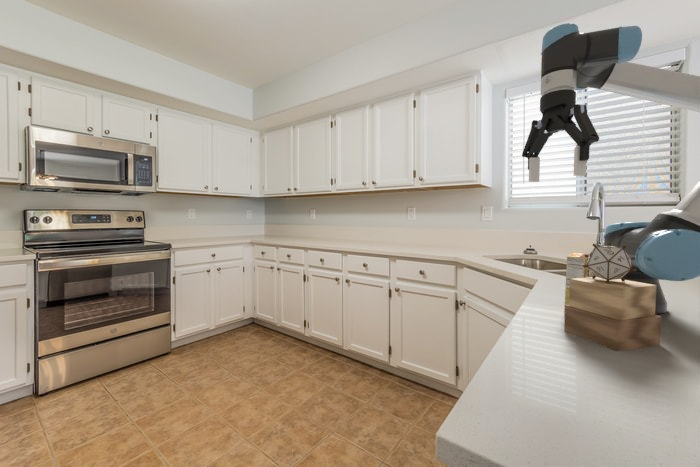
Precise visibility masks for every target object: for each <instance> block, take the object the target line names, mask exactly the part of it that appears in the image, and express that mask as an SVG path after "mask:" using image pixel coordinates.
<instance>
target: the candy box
mask: <svg viewBox="0 0 700 467" xmlns="http://www.w3.org/2000/svg"><path fill="white" fill-rule="evenodd" d="M589 254H590V253H579V252H572V253H569V255H567V256H566V268H565V270H566V271H565V289H564V291H565V292H564V306H565V305H569V296H570V279H575V278H585V277H590V269H589V268H588V267H585V268H584V267H582V266H583V265H587V260H588V257H585V256H584V255H588V256H589ZM563 315H564V316H565V307H564V312H563Z"/></svg>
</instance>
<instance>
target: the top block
mask: <svg viewBox="0 0 700 467" xmlns="http://www.w3.org/2000/svg"><path fill="white" fill-rule="evenodd" d="M592 277H593V276H589V277H585V278H575V279H570V296H569V306H571V307H574V308H578V309H581V310H585V311H589V312H592V313H596V314H599V315H603V316H607V317H610V318H614V319H617V320H627V319H633V318H639V317H646V316H652V315H656V314H655V305H656V286H657V285H653V284H647V283H641V282H635V281H629V280H625V282H624V281H622V280H621V279H614V280H609V281H610V283H608V284H607V282H606V281H607V280H606V279H602V278H599V277H596V278H595V279H592Z"/></svg>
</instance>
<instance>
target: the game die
mask: <svg viewBox="0 0 700 467" xmlns="http://www.w3.org/2000/svg"><path fill="white" fill-rule="evenodd" d="M610 245H611V244H610V243H608V246H604V245H602V246H601V245H600V246H599V245H598V246H597V244H596V243H592V246H593V247H594V248H593V249H592V250H591V252H590V253H588V254H589V256H588V255H584V256H585V257H588V260H587V265H583V266H582V267H584V268H585V267H588V268H589V272H591V273H592V275H593V276H591V277H592V279H595V278H596V277H599V278H602V279H606V280H607V281H606V282H607V284H608V283H610V281H609V280H614V279H621V280H622V281H624V282H625V280H624V279H623V277H624V276H625V275H626V274H627V273H628V272H629V271H630V270H632V271H637V270H636V269H634V268H633V269H632V264H631V260H635V259H636V258H634V257H633V258H630V257H629V255H628V254H627V252H626V251H625V249H624V248H626V245H623V247H615V246H610Z"/></svg>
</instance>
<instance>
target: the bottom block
mask: <svg viewBox="0 0 700 467" xmlns="http://www.w3.org/2000/svg"><path fill="white" fill-rule="evenodd" d="M564 308H565V315H564V326H563V328H564V329H563V330H564V331H566V332H568V333H570V334H573V335H576V336H578V337H580V338H582V339H585V340H587V341H590V342H594V343H596V344H598V345H600V346H603V347H606V348H608V349H610V350H613V351H616V352H618V351H620V352H621V351H626V350H632V349H633V350H634V349H643V348H649V347H654V346H655V347H656V346H661V332H662V331H661V330H662V329H661V328H662V316H661V315H657V314H655V315H652V316H646V317H639V318H633V319H627V320H617V319H614V318H610V317H607V316H603V315H599V314H596V313H592V312H589V311H585V310H581V309H578V308H574V307H571V306H569V305H565V304H564Z"/></svg>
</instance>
